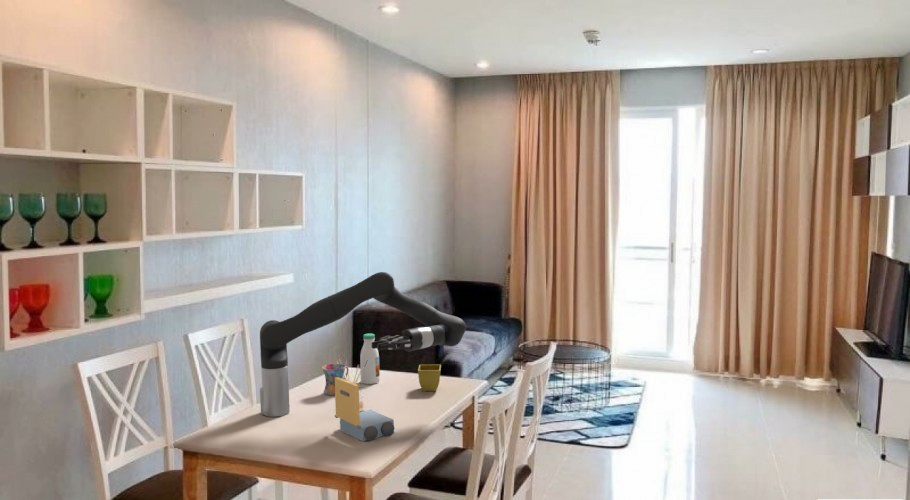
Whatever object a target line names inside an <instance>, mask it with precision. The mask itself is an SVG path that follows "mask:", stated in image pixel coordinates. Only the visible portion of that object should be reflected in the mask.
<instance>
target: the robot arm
mask: <svg viewBox="0 0 910 500" xmlns="http://www.w3.org/2000/svg"><path fill="white" fill-rule="evenodd" d="M394 280H395V279H394V278H393V276H392V275H391V274H390V273H389V272H385V271H381V272H380V271H379V272H376V273H374V274H372V275H369V276H368V277H367V278H365V279H363V280H361V281H359V282H357V283H355V284H354V285H352V286H350V287H347V288H344V289H342V290H341V291H338V292H336V293H333V294H331V295H328V296H326V297H324V298H322V299H319V300H318V301H316V302H314V303H312V304H310V305H309V306H308V307H306V308H304V309H303V310H301V311H300V312H299V313H297V314H296V315H294V316H291V317H290V318H286V319H284V320H282V321H278V320H276V319H275V320H274V319H272V320H271V319H270V320H268V321H265V323H264V324H263V325H262V326H261V327H260V330H259V350H260V365H261V387H260V389H259V399H260V400H259V401H260V403H259V404H260V415H264V416H266V417H270V418H271V417H274V418H275V417H282V416H285V415H288V414H290V412H291V411H290V384H289V383H290V382H289V364H288V363H289V362H288V361H289V360H288V357H289V356H288V348H287V347H288V344H289V343H290V342H292V341H293V340H295V339H297V338H299V337H301V336H303V335H305V334H307V333H310V332H313V331H316V330H318V329H320V328H323V327H325V326H328V325H330V324H333V323H334V322H337V321H339V320H340V319H342V318H344V317H346V316H347V315H349V313H351V312H352V311H353V310H354V309H355V308H357V307H358V306H359V305H361V304H363V303H366V301H369V300H371V299H373V300H375V301H377V302H379V303H382V304H384V305H387V306H389V307H392V308H394V309H396V310H398V311H400V312H402V313H403V314H406V315H408V316H409V317H411V318H413V319H414V320H416V321H417V322H419V323H421V324H422V325H424V326H419V327H414V328H413V327H412V328H407V329H404V330H403V331H402V332H401V334H400V335H399V334H395V335H394V336H391V335H389V334H388V335H386V336H385V335H384V336H383V337H380V338H379V340H376V341H375V340H374V342H372V348H373V349H375V348H377V350H378V352H380V351H384V350H392V351H399V350H402V351H403V350H404V351H406V352H413V351H418V350H423V349H426V348H429V347H435V346H437V345H438V346H444V347H456V346H457V345H459V344H460V343H461V341H462V340H463V337H464V335H465V332H466V330H467V324H466V322H465V320H463V319H462V318H460V317H458V316H455V315H452V314H447V313H446V312H442V311H439V310H438V309H436V307H433V306H431V305H430V304H427V303H426V302H424V301H421V300H419V299H415V298H412V297H410V296H408V295H407V294H404V293H402V291H400V290H399V289H398V288H396V287H395V281H394ZM443 326H445V328H443Z"/></svg>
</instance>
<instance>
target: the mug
mask: <svg viewBox="0 0 910 500" xmlns="http://www.w3.org/2000/svg"><path fill="white" fill-rule="evenodd" d="M321 369H322V371H323V373H324V374H323V375H324V378H325V387H324V390H323V393H324V394H325V395H328V396H335V377H339V378H342V379H344V380H346V378H344V376H345V375H346V377H347V376H348V374H349V368H348V366H347V365H345V364H344V363H329V364H324V365H322V366H321ZM345 371H346V373H345ZM344 374H345V375H344Z"/></svg>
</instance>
